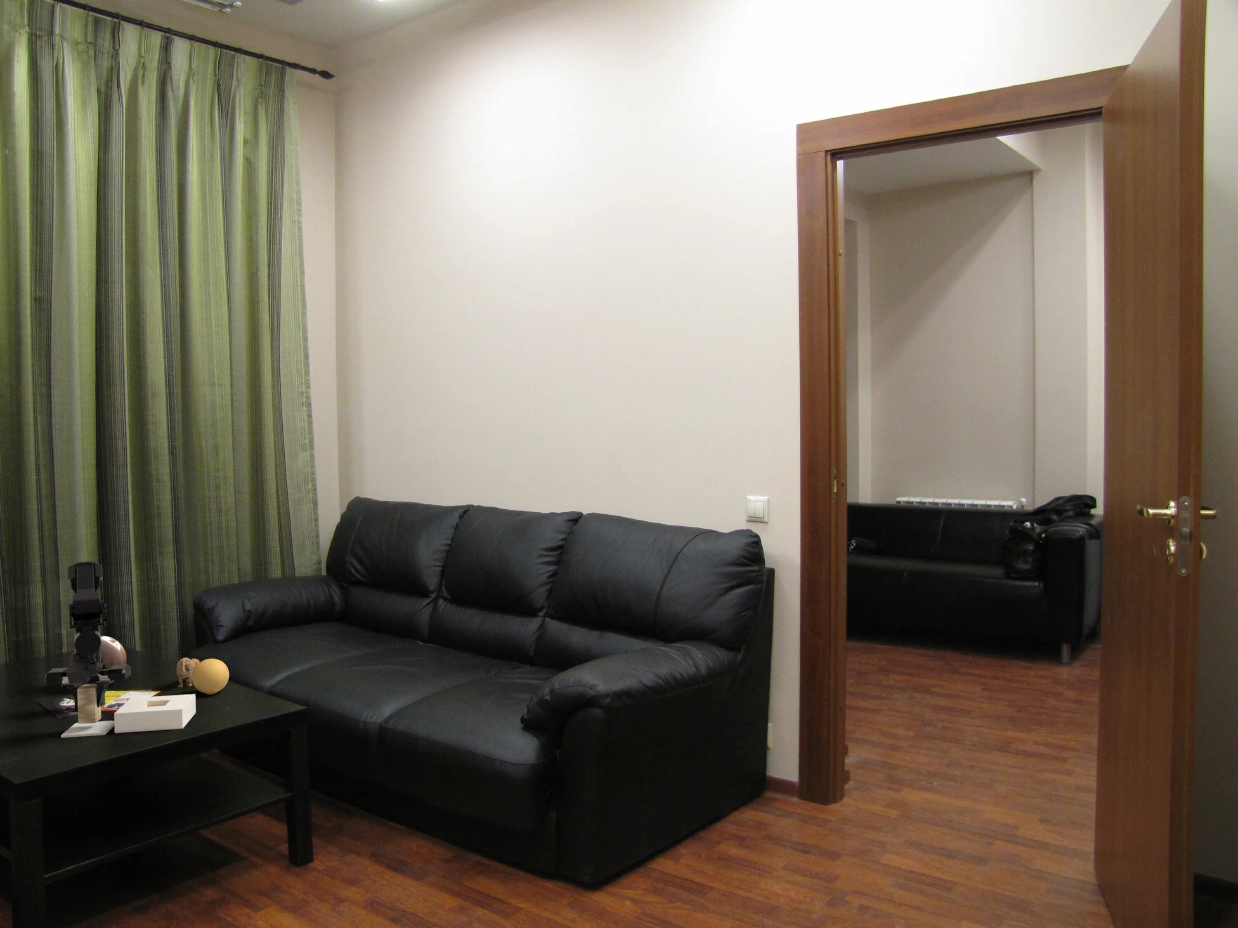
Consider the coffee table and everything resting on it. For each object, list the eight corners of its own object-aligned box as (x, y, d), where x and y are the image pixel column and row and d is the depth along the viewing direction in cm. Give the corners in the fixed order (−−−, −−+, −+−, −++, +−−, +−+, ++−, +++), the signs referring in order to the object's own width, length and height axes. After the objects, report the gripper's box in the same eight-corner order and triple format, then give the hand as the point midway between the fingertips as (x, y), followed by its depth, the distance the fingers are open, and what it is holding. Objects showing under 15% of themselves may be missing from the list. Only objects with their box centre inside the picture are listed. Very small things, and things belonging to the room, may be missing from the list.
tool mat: (61, 737, 235) (61, 735, 235) (75, 725, 245) (75, 722, 245) (104, 734, 237) (104, 732, 237) (117, 722, 247) (117, 720, 247)
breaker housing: (114, 732, 239) (114, 713, 238) (131, 716, 252) (131, 697, 252) (182, 728, 242) (182, 708, 242) (195, 712, 255) (195, 693, 255)
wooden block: (78, 723, 239) (77, 688, 238) (84, 719, 243) (83, 684, 242) (95, 722, 239) (94, 687, 239) (101, 718, 243) (100, 683, 243)
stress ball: (225, 699, 271) (242, 670, 278) (203, 678, 266) (221, 650, 273) (200, 701, 275) (217, 672, 282) (178, 681, 269) (196, 652, 277)
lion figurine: (192, 689, 278) (192, 659, 278) (173, 690, 278) (172, 660, 277) (205, 676, 293) (204, 647, 293) (187, 677, 292) (186, 648, 292)
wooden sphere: (124, 689, 279) (122, 639, 278) (65, 695, 273) (64, 643, 273) (129, 677, 293) (128, 629, 292) (74, 682, 287) (73, 633, 286)
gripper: (34, 656, 231) (36, 719, 231) (117, 652, 234) (119, 714, 235) (52, 646, 242) (54, 706, 242) (131, 642, 245) (132, 701, 246)
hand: (89, 707), depth 241 cm, fingers closed on wooden block, 4 cm apart
